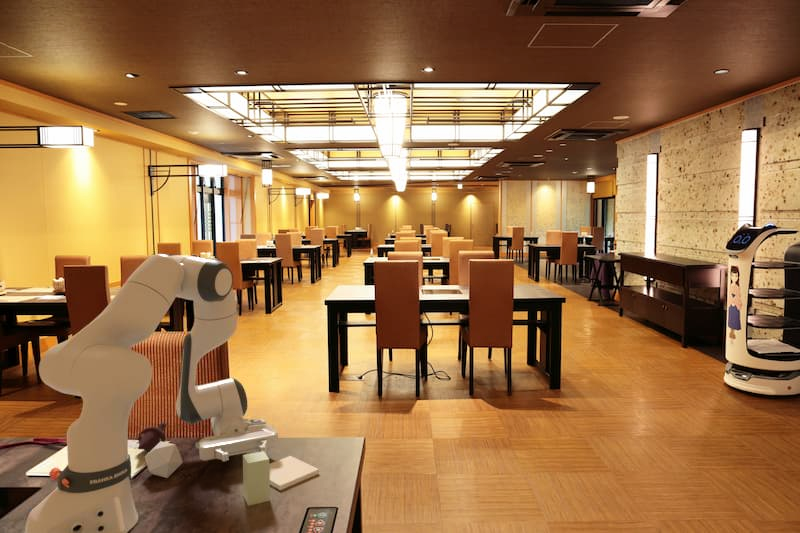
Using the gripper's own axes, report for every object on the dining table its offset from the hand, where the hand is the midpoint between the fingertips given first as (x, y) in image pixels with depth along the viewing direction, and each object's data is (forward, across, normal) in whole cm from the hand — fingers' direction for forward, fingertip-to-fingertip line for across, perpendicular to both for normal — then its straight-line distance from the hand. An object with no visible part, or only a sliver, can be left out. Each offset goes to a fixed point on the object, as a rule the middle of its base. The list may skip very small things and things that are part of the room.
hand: (244, 454), depth 138 cm
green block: (+12, 0, +6) cm, 14 cm away
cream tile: (+3, +10, +6) cm, 12 cm away
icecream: (-28, -20, +6) cm, 35 cm away
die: (-11, -18, +6) cm, 22 cm away
